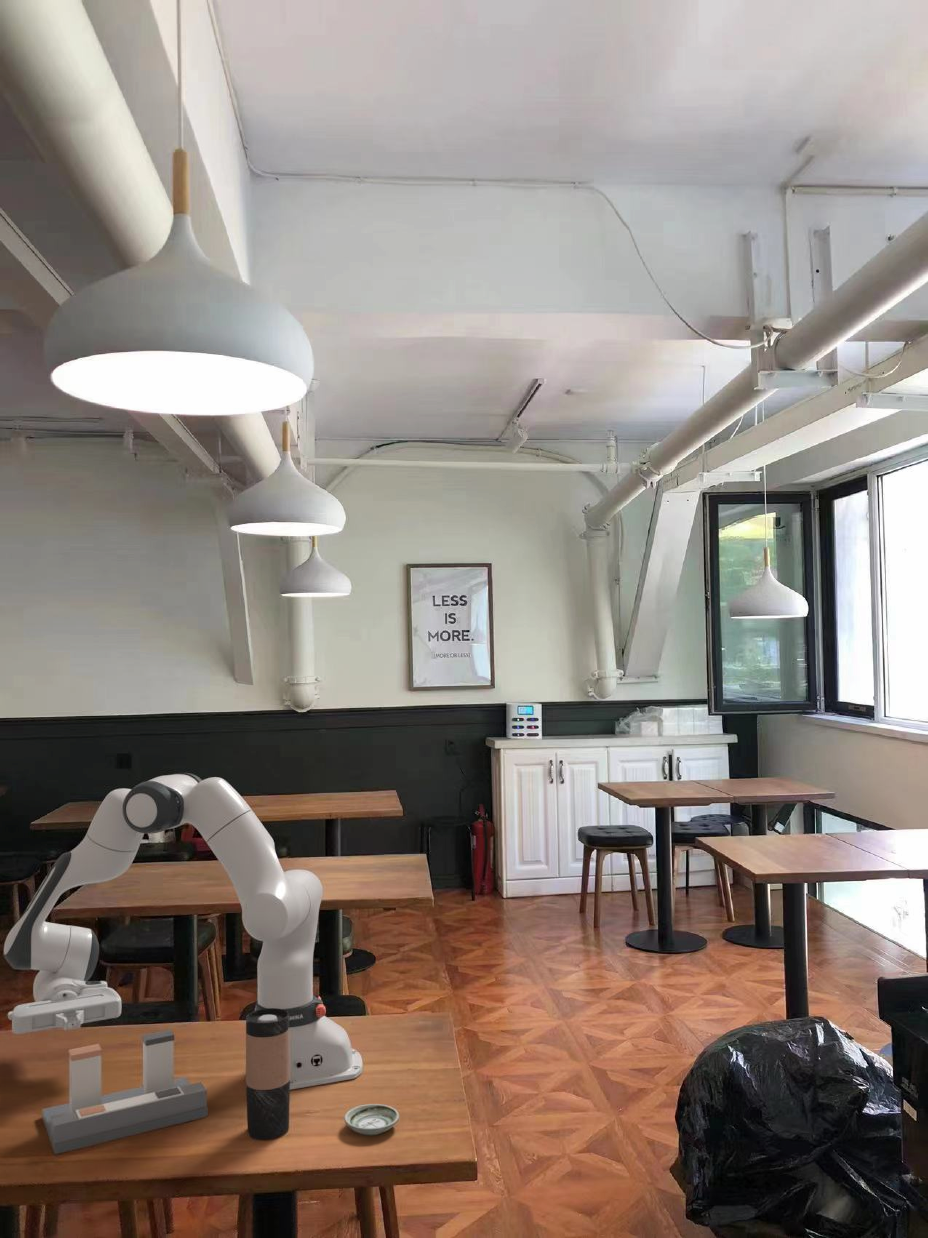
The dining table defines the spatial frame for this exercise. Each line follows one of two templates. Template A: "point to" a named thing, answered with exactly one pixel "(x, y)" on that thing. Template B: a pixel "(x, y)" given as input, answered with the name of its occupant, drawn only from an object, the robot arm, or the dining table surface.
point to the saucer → (371, 1118)
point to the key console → (124, 1115)
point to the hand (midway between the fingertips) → (72, 1024)
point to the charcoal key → (158, 1061)
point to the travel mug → (267, 1073)
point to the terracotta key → (84, 1077)
